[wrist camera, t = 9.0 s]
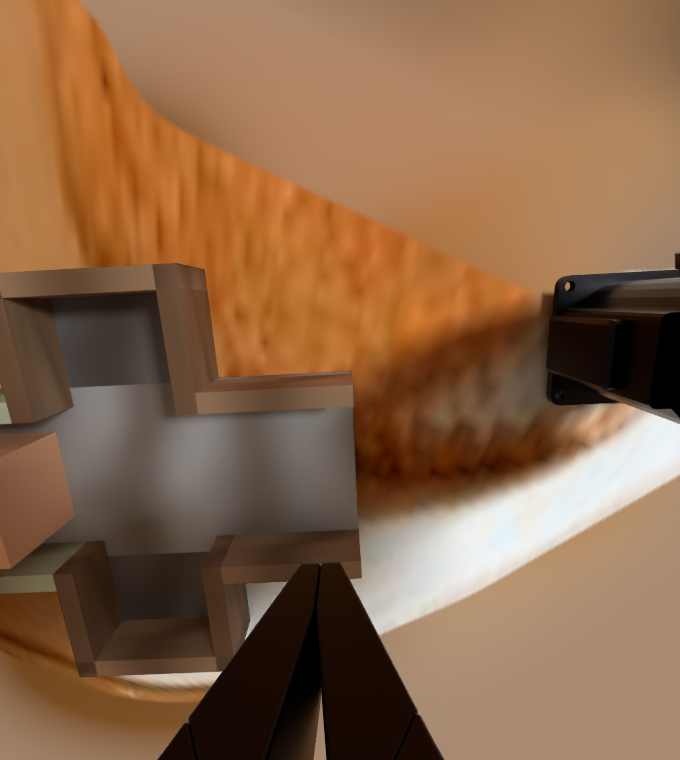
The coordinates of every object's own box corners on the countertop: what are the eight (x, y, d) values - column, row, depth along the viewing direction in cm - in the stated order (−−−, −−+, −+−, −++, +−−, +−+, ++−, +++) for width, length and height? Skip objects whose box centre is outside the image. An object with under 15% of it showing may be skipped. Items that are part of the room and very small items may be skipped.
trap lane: (345, 261, 18) (346, 254, 14) (362, 615, 22) (365, 665, 19) (-114, 286, 18) (-207, 284, 15) (-3, 630, 22) (-57, 682, 19)
